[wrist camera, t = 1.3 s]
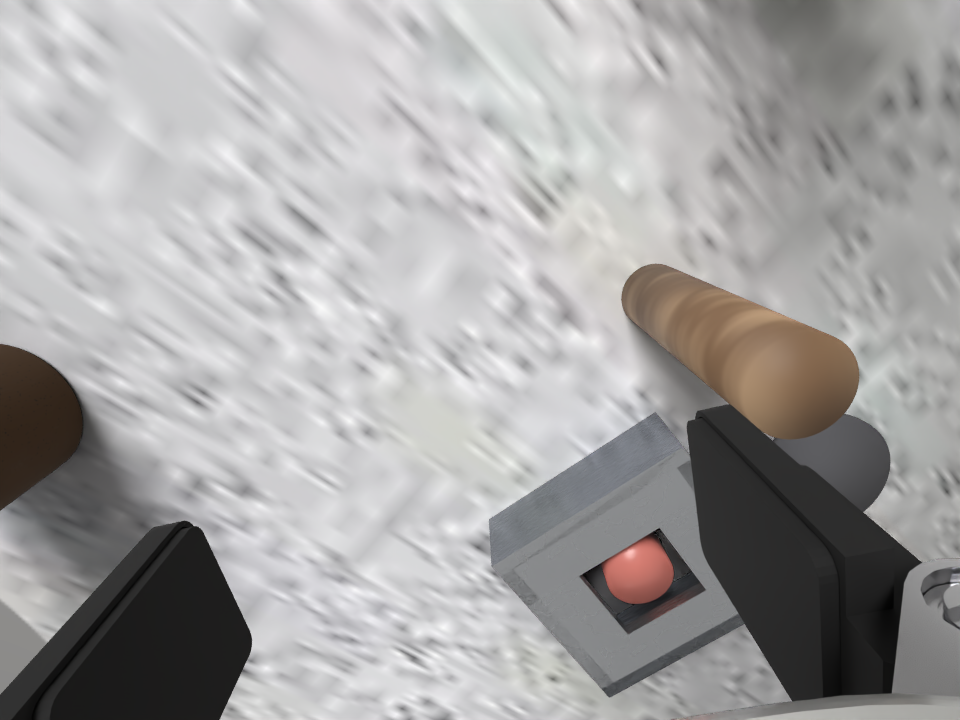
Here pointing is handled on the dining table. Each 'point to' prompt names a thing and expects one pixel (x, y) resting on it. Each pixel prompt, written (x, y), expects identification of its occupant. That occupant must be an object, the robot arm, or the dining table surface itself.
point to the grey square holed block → (598, 536)
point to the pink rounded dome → (639, 571)
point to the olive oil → (33, 422)
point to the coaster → (845, 458)
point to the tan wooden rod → (746, 351)
